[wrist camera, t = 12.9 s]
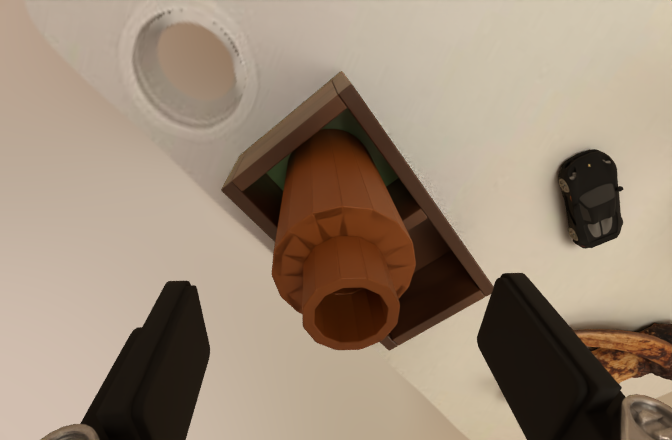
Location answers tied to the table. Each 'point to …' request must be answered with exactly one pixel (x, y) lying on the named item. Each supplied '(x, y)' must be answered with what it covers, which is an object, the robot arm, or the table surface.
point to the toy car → (591, 198)
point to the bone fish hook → (632, 351)
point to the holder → (403, 186)
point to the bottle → (340, 243)
